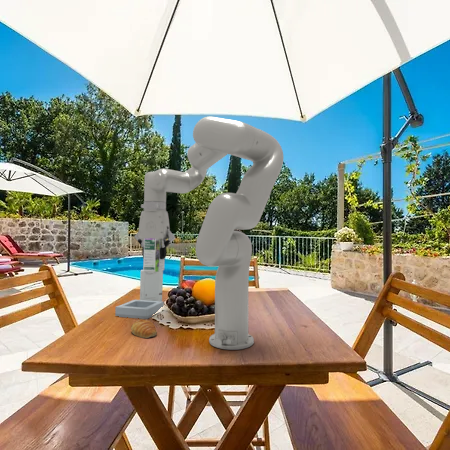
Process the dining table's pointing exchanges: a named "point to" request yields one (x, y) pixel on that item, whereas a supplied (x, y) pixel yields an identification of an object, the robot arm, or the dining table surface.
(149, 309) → the socket block
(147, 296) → the skincare box
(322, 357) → the dining table surface
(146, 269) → the syrup box
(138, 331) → the pastry
